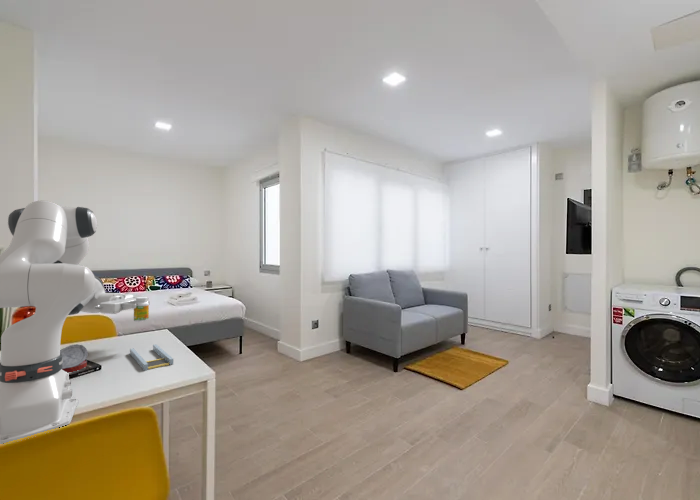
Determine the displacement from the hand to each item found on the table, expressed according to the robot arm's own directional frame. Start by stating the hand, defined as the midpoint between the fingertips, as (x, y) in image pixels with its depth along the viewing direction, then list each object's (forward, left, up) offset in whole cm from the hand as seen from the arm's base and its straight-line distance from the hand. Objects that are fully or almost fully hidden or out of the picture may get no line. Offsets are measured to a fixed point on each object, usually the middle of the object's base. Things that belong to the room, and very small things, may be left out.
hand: (142, 304), depth 139 cm
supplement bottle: (0, 0, -7) cm, 7 cm away
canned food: (-12, +24, -19) cm, 33 cm away
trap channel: (-16, 0, -19) cm, 25 cm away
